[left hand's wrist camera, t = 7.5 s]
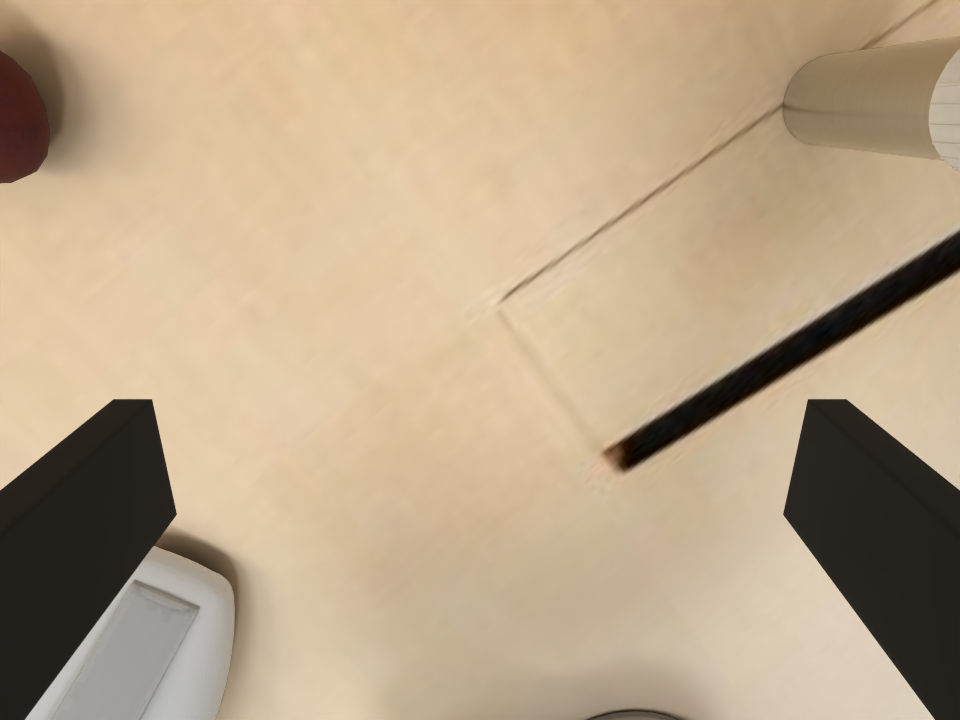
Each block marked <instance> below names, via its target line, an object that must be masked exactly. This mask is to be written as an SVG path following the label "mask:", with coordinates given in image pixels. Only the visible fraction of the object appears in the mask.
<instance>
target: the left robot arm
mask: <svg viewBox="0 0 960 720" xmlns="http://www.w3.org/2000/svg"><path fill="white" fill-rule="evenodd" d="M176 515H177V513H176V509H175V504H174V499H173V495H172V490H171V486H170V481H169V476H168V472H167V467H166V462H165V458H164V453H163V448H162V444H161V439H160V434H159V430H158V425H157V420H156V416H155V411H154V407H153V402H152V399H114V400H112V401H111V402H110V403H109V404H107V405H106V406H105V407H104V408H102V409H101V410H100V411H99V412H97V413H96V414H95V415H94V416H92V417H91V418H90V419H89V420H87V421H86V422H85V423H84V424H82V425H81V426H80V427H79V428H77V429H76V430H75V431H74V432H73V433H71V434H70V435H69V436H68V437H66V438H65V439H64V440H63V441H61V442H60V443H59V444H58V445H56V446H55V447H54V448H53V449H51V450H50V451H49V452H48V453H46V454H45V455H44V456H43V457H41V458H40V459H39V460H38V461H36V462H35V463H34V464H33V465H31V466H30V467H29V468H28V469H26V470H25V471H24V472H23V473H22V474H20V475H19V476H18V477H17V478H15V479H14V480H13V481H12V482H10V483H9V484H8V485H7V486H5V487H4V488H3V489H2V490H0V720H25V719H26V718H27V716H28V715H29V713H30V712H31V711H32V709H33V708H34V707H35V705H36V704H37V703H38V701H39V700H40V699H41V697H42V696H43V695H44V693H45V692H46V690H47V689H48V688H49V686H50V685H51V684H52V682H53V681H54V680H55V678H56V677H57V676H58V674H59V673H60V672H61V670H62V669H63V668H64V666H65V665H66V663H67V662H68V661H69V659H70V658H71V657H72V655H73V654H74V653H75V651H76V650H77V649H78V647H79V646H80V645H81V643H82V642H83V641H84V639H85V638H86V636H87V635H88V634H89V632H90V631H91V630H92V628H93V627H94V626H95V624H96V623H97V622H98V620H99V619H100V618H101V616H102V615H103V613H104V612H105V611H106V609H107V608H108V607H109V605H110V604H111V603H112V601H113V600H114V599H115V597H116V596H117V595H118V593H119V592H120V591H121V589H122V588H123V586H124V585H125V584H126V582H127V581H128V580H129V578H130V577H131V576H132V574H133V573H134V572H135V570H136V569H137V568H138V566H139V565H140V564H141V562H142V561H143V559H144V558H145V557H146V555H147V554H148V553H149V551H150V550H151V549H152V547H153V546H154V545H155V543H156V542H157V541H158V539H159V538H160V536H161V535H162V534H163V532H164V531H165V530H166V528H167V527H168V526H169V524H170V523H171V522H172V520H173V519H174V518H175V516H176ZM783 515H784V516H785V518H786V519H787V520H788V522H789V523H790V524H791V526H792V527H793V528H794V530H795V531H796V532H797V534H798V535H799V536H800V538H801V539H802V541H803V542H804V543H805V545H806V546H807V547H808V549H809V550H810V551H811V553H812V554H813V555H814V557H815V558H816V559H817V561H818V562H819V564H820V565H821V566H822V568H823V569H824V570H825V572H826V573H827V574H828V576H829V577H830V578H831V580H832V581H833V582H834V584H835V585H836V586H837V588H838V589H839V591H840V592H841V593H842V595H843V596H844V597H845V599H846V600H847V601H848V603H849V604H850V605H851V607H852V608H853V609H854V611H855V612H856V613H857V615H858V616H859V618H860V619H861V620H862V622H863V623H864V624H865V626H866V627H867V628H868V630H869V631H870V632H871V634H872V635H873V636H874V638H875V639H876V641H877V642H878V643H879V645H880V646H881V647H882V649H883V650H884V651H885V653H886V654H887V655H888V657H889V658H890V659H891V661H892V662H893V663H894V665H895V666H896V668H897V669H898V670H899V672H900V673H901V674H902V676H903V677H904V678H905V680H906V681H907V682H908V684H909V685H910V686H911V688H912V689H913V690H914V692H915V693H916V695H917V696H918V697H919V699H920V700H921V701H922V703H923V704H924V705H925V707H926V708H927V709H928V711H929V712H930V713H931V715H932V716H933V718H934V719H935V720H960V490H958V489H957V488H956V487H955V486H953V485H952V484H951V483H950V482H948V481H947V480H946V479H945V478H943V477H942V476H941V475H940V474H938V473H937V472H936V471H935V470H934V469H932V468H931V467H930V466H929V465H927V464H926V463H925V462H924V461H922V460H921V459H920V458H919V457H917V456H916V455H915V454H914V453H912V452H911V451H910V450H909V449H907V448H906V447H905V446H904V445H902V444H901V443H900V442H899V441H897V440H896V439H895V438H894V437H892V436H891V435H890V434H889V433H887V432H886V431H885V430H884V429H883V428H881V427H880V426H879V425H878V424H876V423H875V422H874V421H873V420H871V419H870V418H869V417H868V416H866V415H865V414H864V413H863V412H861V411H860V410H859V409H858V408H856V407H855V406H854V405H853V404H851V403H850V402H849V401H848V400H846V399H808V402H807V407H806V411H805V416H804V420H803V425H802V430H801V434H800V439H799V444H798V448H797V453H796V458H795V462H794V467H793V472H792V476H791V481H790V486H789V490H788V495H787V499H786V504H785V509H784V513H783ZM591 720H677V719H675V718H672V717H669V716H666V715H662V714H657V713H651V712H639V711H632V712H619V713H613V714H608V715H604V716H600V717H597V718H594V719H591Z"/></svg>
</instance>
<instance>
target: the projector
mask: <svg viewBox="0 0 960 720" xmlns="http://www.w3.org/2000/svg"><path fill="white" fill-rule="evenodd" d="M234 624H235V605H234V594H233V590H232V586H231V585H230V583H229V582H228V580H227V579H226V578H224V577H223V576H222V575H220V574H219V573H216V572H214V571H212V570H210V569H208V568H206V567H204V566H202V565H200V564H198V563H196V562H194V561H192V560H189V559H187V558H185V557H182V556H180V555H177V554H175V553H172V552H169V551H166V550H163V549H160V548H158V547H156V546H153V547H152V549H151V550H150V551H149V553H148V554H147V555H146V557H145V558H144V559H143V561H142V562H141V564H140V565H139V566H138V568H137V569H136V570H135V572H134V573H133V574H132V576H131V577H130V578H129V580H128V581H127V582H126V584H125V585H124V586H123V588H122V589H121V591H120V592H119V593H118V595H117V596H116V597H115V599H114V600H113V601H112V603H111V604H110V605H109V607H108V608H107V609H106V611H105V612H104V613H103V615H102V616H101V618H100V619H99V620H98V622H97V623H96V624H95V626H94V627H93V628H92V630H91V631H90V632H89V634H88V635H87V636H86V638H85V639H84V641H83V642H82V643H81V645H80V646H79V647H78V649H77V650H76V651H75V653H74V654H73V655H72V657H71V658H70V659H69V661H68V662H67V663H66V665H65V666H64V668H63V669H62V670H61V672H60V673H59V674H58V676H57V677H56V678H55V680H54V681H53V682H52V684H51V685H50V686H49V688H48V689H47V690H46V692H45V693H44V695H43V696H42V697H41V699H40V700H39V701H38V703H37V704H36V705H35V707H34V708H33V709H32V711H31V712H30V713H29V715H28V716H27V718H26V719H25V720H215V719H216V716H217V713H218V711H219V708H220V704H221V701H222V697H223V694H224V691H225V687H226V682H227V678H228V673H229V668H230V662H231V656H232V647H233V639H234Z"/></svg>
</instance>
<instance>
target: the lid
mask: <svg viewBox="0 0 960 720" xmlns="http://www.w3.org/2000/svg"><path fill="white" fill-rule="evenodd" d="M929 129H930V135H931V138H932V144H933V145H934V146H935V148H936V150H937V152H938V153H939V155H940V156H941V157H940V158H941V159H943V160H944V161H945V162H946V163H948V164H949V165H950V166H952V167H953V168H952V169H953V170H957V171H960V49H959V50H958V51H957V52H956V53H955V54H954V56H953V57H952V58H951V59H950V61H949V62H948V63H947V64H946V67H945V68H944V70H943V71H942V73H941V75H940V77H939V79H938V81H937V83H936V85H935V89H934V91H933V94H932V98H931V102H930V108H929Z"/></svg>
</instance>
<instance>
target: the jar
mask: <svg viewBox="0 0 960 720" xmlns="http://www.w3.org/2000/svg"><path fill="white" fill-rule="evenodd" d="M959 49H960V36H957V37H950V38H943V39H936V40H929V41H922V42H915V43H908V44H901V45H894V46H887V47H880V48H873V49H866V50H859V51H852V52H845V53H838V54H831V55H825V56H822V57H819V58H816V59H814V60H813V61H811V62H809V63H808V64H806V65H805V66H804V67H803V68H802V69H800V70H799V72H798V73H797V74H796V75H795V76H794V78H793V79H792V81H791V82H790V84H789V86H788V88H787V91H786V94H785V97H784V103H783V115H784V120H785V123H786V126H787V128H788V129H789V131H790V132H791V134H792V135H793V136H794V137H795V138H797V139H798V140H800V141H802V142H804V143H806V144H810V145H817V146H826V147H834V148H842V149H851V150H859V151H867V152H876V153H884V154H892V155H901V156H909V157H917V158H925V159H934V160H942V161H944V160H943V159H941V158H940V157H941V156H940V155H939V153H938V152H937V150H936V148H935V146H934V145H933V144H932V138H931V135H930V129H929V108H930V102H931V98H932V94H933V91H934V89H935V85H936V83H937V81H938V79H939V77H940V75H941V73H942V71H943V70H944V68H945V67H946V64H947V63H948V62H949V61H950V59H951V58H952V57H953V56H954V54H955V53H956V52H957V51H958V50H959Z"/></svg>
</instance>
